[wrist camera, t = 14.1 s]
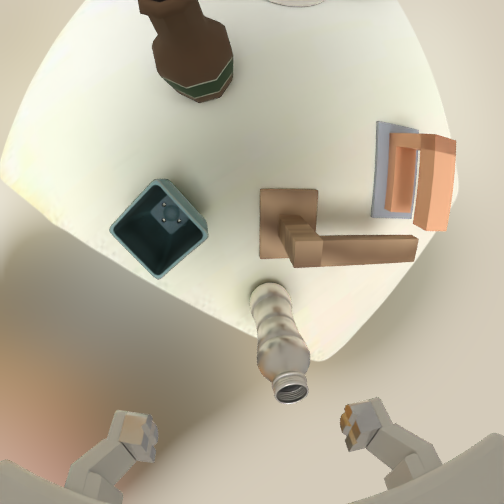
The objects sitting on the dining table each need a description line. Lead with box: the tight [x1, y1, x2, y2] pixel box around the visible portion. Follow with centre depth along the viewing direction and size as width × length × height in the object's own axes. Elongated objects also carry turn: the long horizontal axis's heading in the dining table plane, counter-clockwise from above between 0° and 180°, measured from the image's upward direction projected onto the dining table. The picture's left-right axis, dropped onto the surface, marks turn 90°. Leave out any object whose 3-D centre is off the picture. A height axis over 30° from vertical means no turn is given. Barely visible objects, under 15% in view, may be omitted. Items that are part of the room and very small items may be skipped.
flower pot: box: [109, 179, 208, 279], centre depth 33 cm, size 9×9×9 cm
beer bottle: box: [138, 0, 233, 103], centre depth 19 cm, size 8×8×24 cm
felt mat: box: [371, 121, 419, 219], centre depth 37 cm, size 15×8×1 cm, turn 0°
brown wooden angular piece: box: [260, 189, 419, 268], centre depth 34 cm, size 10×18×12 cm, turn 90°
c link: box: [384, 133, 456, 231], centre depth 31 cm, size 12×4×11 cm, turn 0°
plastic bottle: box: [249, 283, 310, 404], centre depth 34 cm, size 6×7×20 cm
